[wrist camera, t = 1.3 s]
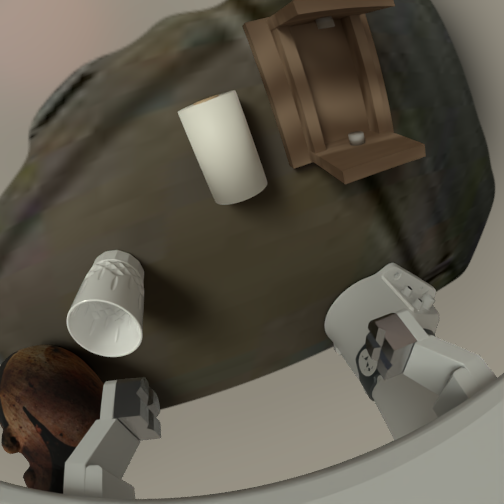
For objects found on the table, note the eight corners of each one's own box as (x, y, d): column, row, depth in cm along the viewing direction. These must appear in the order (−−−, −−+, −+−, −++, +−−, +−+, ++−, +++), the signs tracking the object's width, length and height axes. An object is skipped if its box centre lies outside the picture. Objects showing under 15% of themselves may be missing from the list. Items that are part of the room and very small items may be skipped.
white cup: (86, 241, 32) (60, 295, 24) (150, 248, 34) (142, 304, 26) (91, 295, 36) (73, 352, 27) (148, 301, 38) (143, 360, 29)
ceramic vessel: (0, 344, 37) (-44, 497, 11) (42, 297, 34) (-20, 507, 9) (88, 405, 48) (81, 546, 22) (146, 375, 45) (153, 554, 20)
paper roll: (260, 173, 32) (274, 190, 28) (212, 192, 32) (217, 212, 28) (230, 88, 27) (239, 88, 22) (178, 108, 27) (175, 112, 22)
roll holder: (387, 133, 32) (440, 154, 24) (289, 165, 32) (324, 195, 24) (354, 6, 24) (406, -9, 16) (242, 25, 24) (265, 2, 16)
